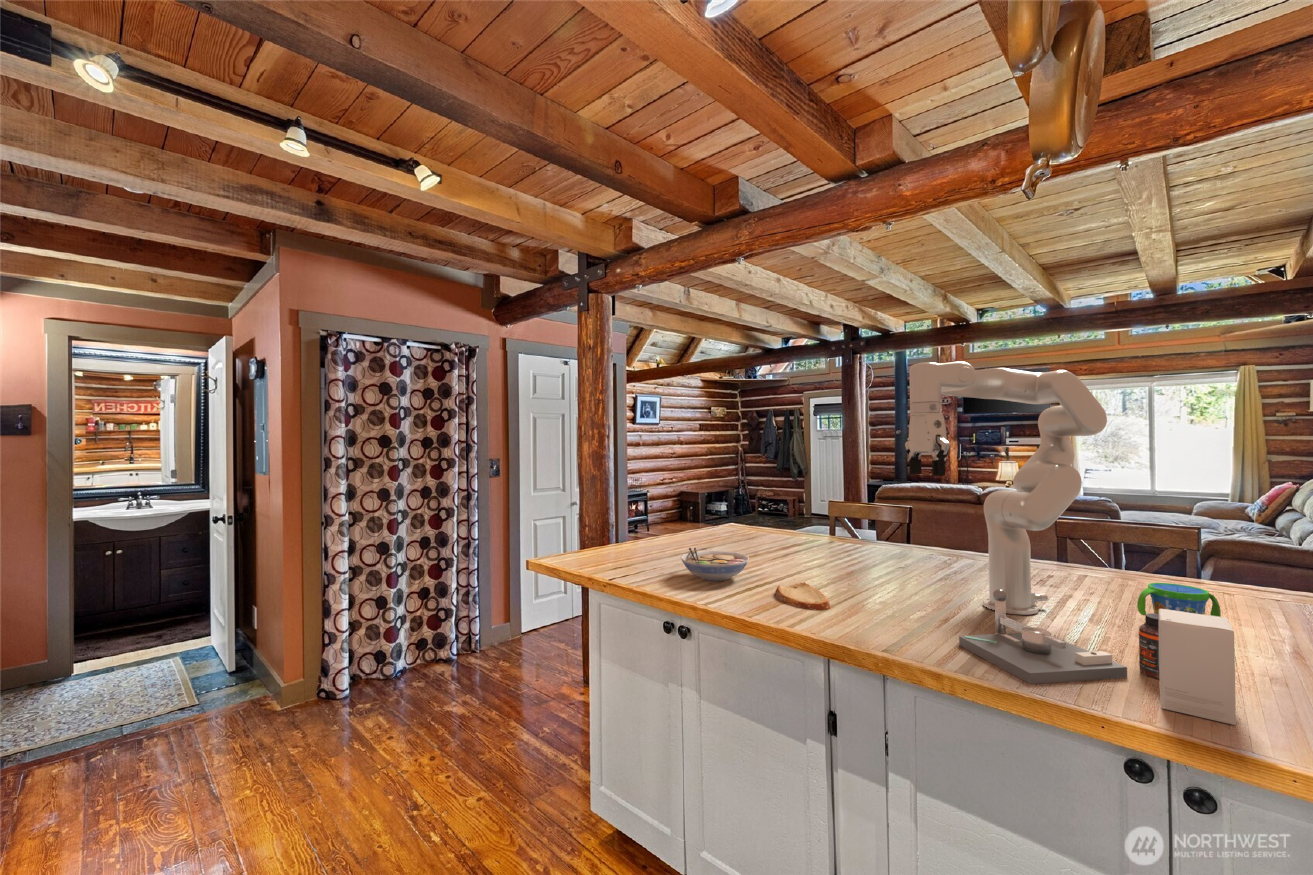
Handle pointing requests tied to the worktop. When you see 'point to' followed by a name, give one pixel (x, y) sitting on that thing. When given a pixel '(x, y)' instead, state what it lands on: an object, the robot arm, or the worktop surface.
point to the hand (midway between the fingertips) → (926, 474)
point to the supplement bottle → (1149, 646)
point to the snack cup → (1177, 599)
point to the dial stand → (1043, 660)
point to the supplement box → (1197, 665)
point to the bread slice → (803, 596)
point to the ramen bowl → (714, 564)
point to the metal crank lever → (1023, 628)
